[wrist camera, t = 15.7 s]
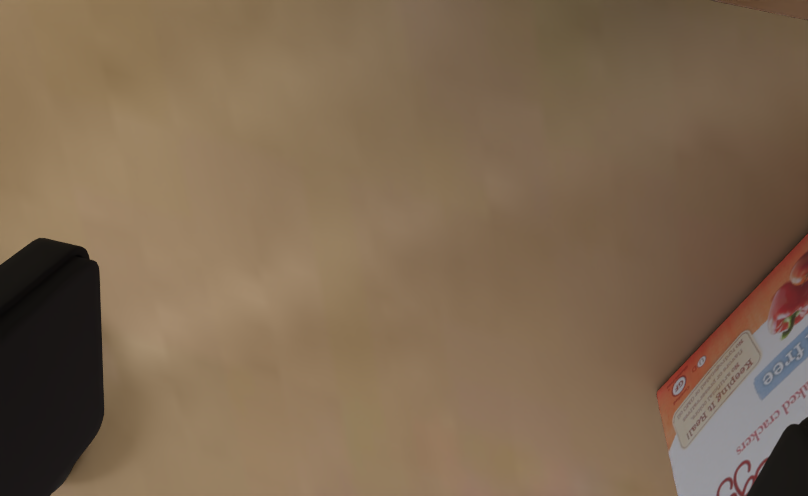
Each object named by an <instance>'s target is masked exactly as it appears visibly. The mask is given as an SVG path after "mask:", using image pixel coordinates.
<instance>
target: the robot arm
mask: <svg viewBox="0 0 808 496" xmlns="http://www.w3.org/2000/svg"><path fill="white" fill-rule="evenodd" d="M103 416H104V390H103V361H102V332H101V303H100V274H99V266H98V264H97V262H95V261H94V260H89V255H88V253H87V251H86V249H84V248H83V247H81V246H76V245H72V244H68V243H63V242H59V241H55V240H50V239H46V238H38V239H36V240H34V241H32V242H31V243H30V244H28V245H27V246H26V247H24V248H23V249H22V250H20V251H19V252H17V253H16V254H15V255H13V256H12V257H11V258H9V259H8V260H7V261H5V262H4V263H2V264H1V265H0V496H50V495H51V494H52V492H53V491H54V490H55V488H56V487H57V486H58V484H59V483H60V482H61V481H62V479H63V478H64V477H65V475H66V474H67V473H68V471H69V470H70V469H71V468H72V466H73V465H74V464H75V462H76V461H77V460H78V458H79V457H80V456H81V455H82V453H83V452H84V451H85V449H86V448H87V447H88V445H89V444H90V443H91V442H92V440H93V439H94V438H95V436H96V434H97V433H98V431H99V429H100V426H101V423H102V420H103ZM747 496H808V417H807V418H805V419H804V420H802V421H801V422H800V424H799V425H798V424H791V425H789V426H788V427H786V429H785V430H784V431H783V433H782V435H781V437H780V438H779V440H778V442H777V444H776V445H775V447H774V449H773V451H772V452H771V454H770V456H769V457H768V459H767V461H766V463H765V464H764V466H763V468H762V470H761V471H760V473H759V475H758V477H757V478H756V480H755V482H754V484H753V485H752V487H751V489H750V490H749V492H748V494H747Z"/></svg>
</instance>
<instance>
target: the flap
mask: <svg viewBox="0 0 808 496" xmlns="http://www.w3.org/2000/svg"><path fill="white" fill-rule="evenodd" d="M712 1H717V2H722V3H726V4H731V5H736V6H741V7H746V8H751V9H756V10H760V11H765V12H770V13H775V14H780V15H785V16H790V17H794V18H799V19H804V20H808V0H712Z"/></svg>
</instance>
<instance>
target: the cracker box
mask: <svg viewBox="0 0 808 496" xmlns="http://www.w3.org/2000/svg"><path fill="white" fill-rule="evenodd" d="M657 399H658V404H659V410H660V413H661V418H662V423H663V428H664V432H665V437H666V441H667V446H668V451H669V457H670V461H671V465H672V470H673V475H674V480H675V484H676V489H677V493H678V496H747V494H748V492H749V490H750V489H751V487H752V485H753V484H754V482H755V480H756V478H757V477H758V475H759V473H760V471H761V470H762V468H763V466H764V464H765V463H766V461H767V459H768V457H769V456H770V454H771V452H772V451H773V449H774V447H775V445H776V444H777V442H778V440H779V438H780V437H781V435H782V433H783V431H784V430H785V429H786V427H788V426H789V425H791V424H798V425H799V424H800V422H801V421H802V420H804V419H805V418H807V417H808V234H807V235H806V236H805V237H804V238H803V239H802V240H801V241H800V242H799V243H798V244H797V245H796V246H795V247H794V249H793V250H792V251H791V252H790V253H789V254H788V255H787V256H786V257H785V258H784V259H783V260H782V261H781V262H780V263H779V264H778V265H777V266H776V267H775V268H774V270H773V271H772V272H771V273H770V274H769V275H768V276H767V277H766V278H765V279H764V280H763V281H762V282H761V283H760V284H759V285H758V286H757V287H756V289H755V290H754V291H753V292H752V293H751V294H750V295H749V296H748V297H747V298H746V299H745V300H744V301H743V302H742V303H741V304H740V305H739V306H738V307H737V308H736V309H735V310H734V311H733V313H732V314H731V315H730V316H729V317H728V318H727V319H726V320H725V321H724V322H723V323H722V324H721V325H720V326H719V327H718V328H717V329H716V330H715V331H714V332H713V333H712V335H711V336H710V337H709V338H708V339H707V340H706V341H705V342H704V343H703V344H702V345H701V346H700V347H699V348H698V350H697V351H696V352H694V353H693V354H692V355H691V356H690V357H689V359H688V360H687V361H686V362H685V363H684V364H683V365H682V366H681V367H680V368H679V369H678V370H677V371H676V372H675V373H674V374H673V375H672V376H671V377H670V378H669V380H668V381H667V382H666V383H665V384H664V385H663V386H662V387H661V388H660V389H659V390H658V391H657Z"/></svg>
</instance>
